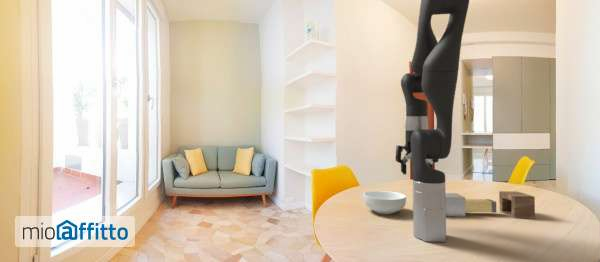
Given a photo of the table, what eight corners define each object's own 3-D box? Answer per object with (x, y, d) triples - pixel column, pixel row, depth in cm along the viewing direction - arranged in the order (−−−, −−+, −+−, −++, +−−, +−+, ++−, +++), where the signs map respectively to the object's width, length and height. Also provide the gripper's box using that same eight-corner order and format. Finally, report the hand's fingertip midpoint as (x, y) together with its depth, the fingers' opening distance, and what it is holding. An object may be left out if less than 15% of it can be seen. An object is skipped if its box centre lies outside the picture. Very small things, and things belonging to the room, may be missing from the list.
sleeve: (465, 216, 106) (465, 197, 106) (424, 215, 107) (424, 197, 107) (456, 211, 113) (456, 193, 113) (418, 210, 114) (418, 193, 114)
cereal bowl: (412, 217, 105) (412, 199, 106) (368, 218, 106) (368, 199, 106) (398, 206, 122) (397, 189, 122) (360, 206, 123) (359, 190, 123)
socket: (534, 218, 103) (534, 196, 103) (514, 218, 104) (514, 196, 104) (518, 211, 112) (517, 191, 112) (499, 211, 113) (499, 191, 113)
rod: (496, 212, 106) (496, 201, 106) (431, 211, 109) (431, 201, 109) (490, 209, 111) (489, 199, 111) (427, 208, 113) (427, 198, 113)
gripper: (399, 129, 96) (399, 176, 97) (441, 129, 96) (441, 176, 96) (393, 129, 104) (393, 172, 104) (432, 128, 103) (432, 172, 104)
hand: (416, 174), depth 100 cm, fingers open, 8 cm apart
